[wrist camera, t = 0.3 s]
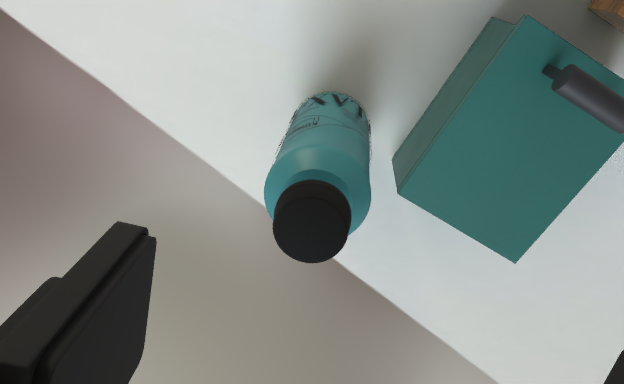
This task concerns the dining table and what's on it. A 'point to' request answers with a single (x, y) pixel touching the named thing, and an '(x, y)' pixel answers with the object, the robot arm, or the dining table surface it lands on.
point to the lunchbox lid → (520, 141)
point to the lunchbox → (450, 96)
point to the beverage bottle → (320, 178)
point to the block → (610, 11)
